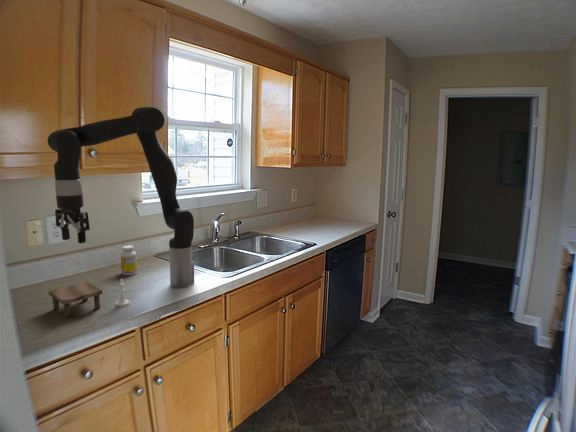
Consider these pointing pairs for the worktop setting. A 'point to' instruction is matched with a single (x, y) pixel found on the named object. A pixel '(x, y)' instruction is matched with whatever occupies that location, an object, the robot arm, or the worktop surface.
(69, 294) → the small wooden table
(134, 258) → the supplement bottle
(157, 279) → the worktop surface
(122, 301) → the chess piece
